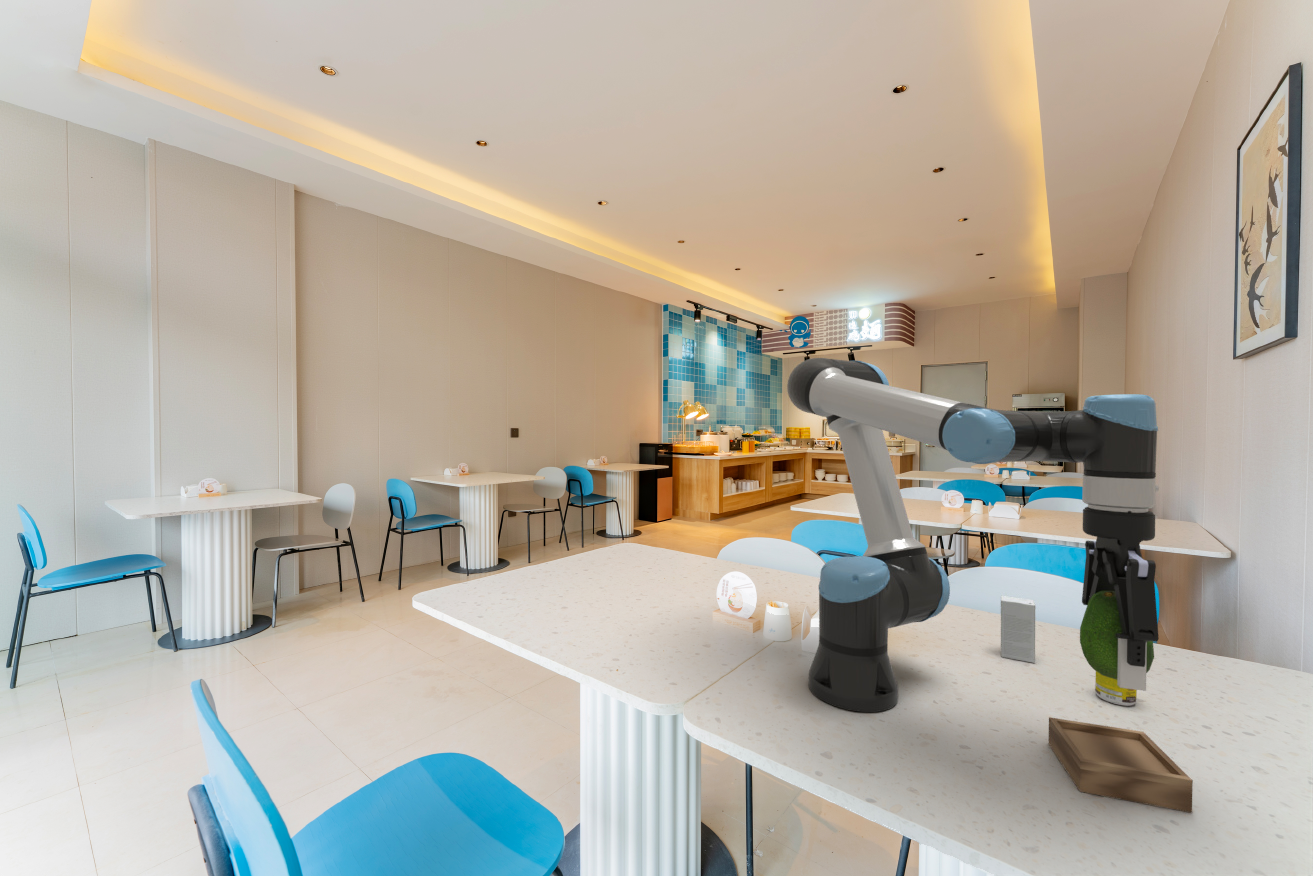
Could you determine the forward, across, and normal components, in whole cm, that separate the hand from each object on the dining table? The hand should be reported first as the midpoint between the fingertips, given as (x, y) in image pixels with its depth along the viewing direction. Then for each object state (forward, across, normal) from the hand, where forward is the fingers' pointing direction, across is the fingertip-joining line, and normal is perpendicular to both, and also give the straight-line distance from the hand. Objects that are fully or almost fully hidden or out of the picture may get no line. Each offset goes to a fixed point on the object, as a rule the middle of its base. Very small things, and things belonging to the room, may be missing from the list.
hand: (1115, 673), depth 74 cm
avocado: (+1, 0, 0) cm, 1 cm away
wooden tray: (+14, 0, 0) cm, 14 cm away
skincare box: (+14, +41, +1) cm, 43 cm away
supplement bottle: (+14, +26, -10) cm, 31 cm away
